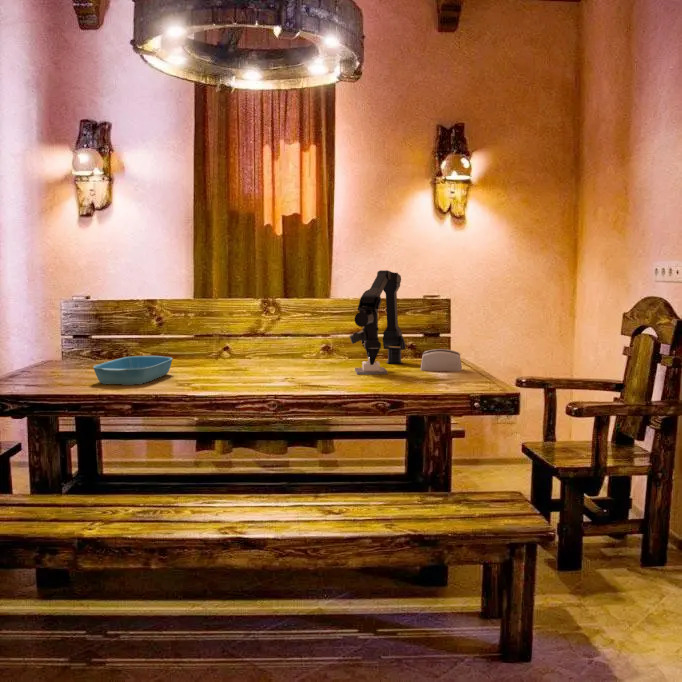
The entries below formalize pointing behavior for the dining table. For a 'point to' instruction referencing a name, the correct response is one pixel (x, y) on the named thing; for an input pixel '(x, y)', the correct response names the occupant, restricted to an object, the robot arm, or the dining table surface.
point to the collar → (370, 366)
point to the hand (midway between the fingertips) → (370, 363)
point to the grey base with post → (362, 372)
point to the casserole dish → (133, 369)
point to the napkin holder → (441, 360)
